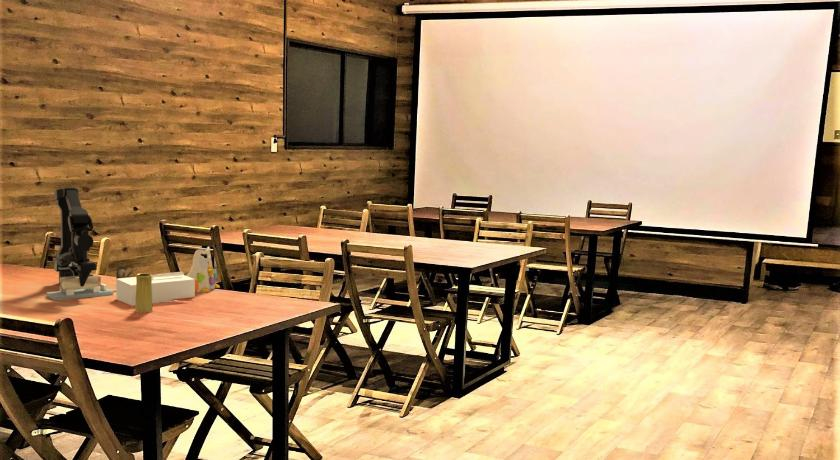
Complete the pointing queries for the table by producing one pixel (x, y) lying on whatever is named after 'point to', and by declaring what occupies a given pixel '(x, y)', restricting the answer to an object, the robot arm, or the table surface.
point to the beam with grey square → (74, 282)
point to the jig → (80, 293)
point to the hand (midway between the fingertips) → (79, 285)
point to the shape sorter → (203, 272)
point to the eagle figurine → (122, 272)
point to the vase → (143, 293)
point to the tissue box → (157, 288)
